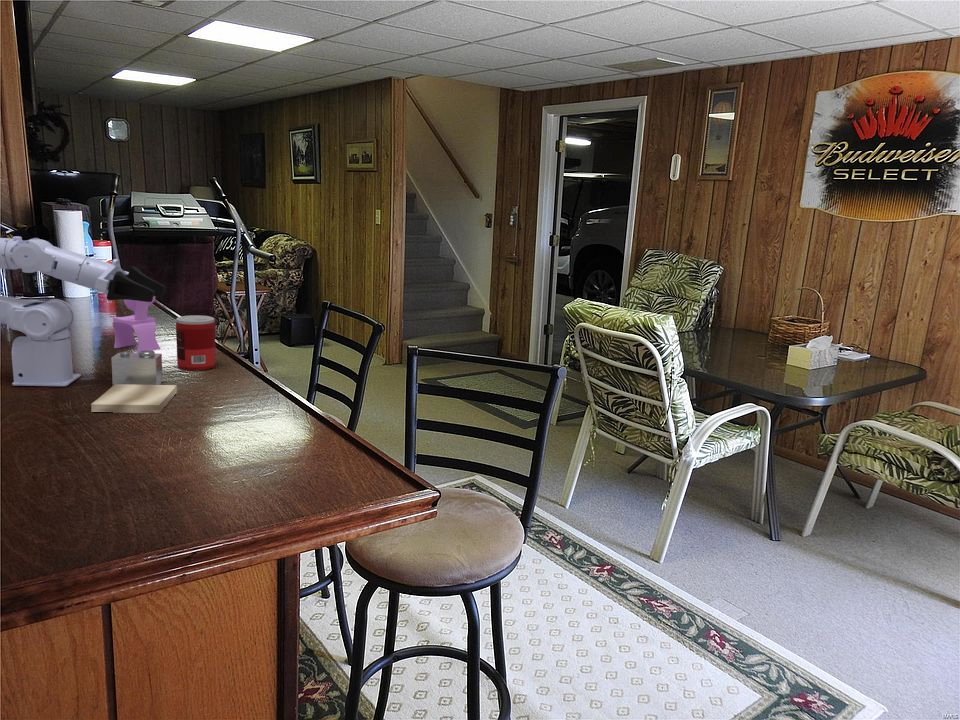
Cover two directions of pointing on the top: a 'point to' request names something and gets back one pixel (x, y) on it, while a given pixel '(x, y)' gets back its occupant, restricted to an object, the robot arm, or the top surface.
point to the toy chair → (136, 327)
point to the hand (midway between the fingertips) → (158, 294)
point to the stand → (134, 398)
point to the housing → (137, 368)
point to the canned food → (195, 342)
